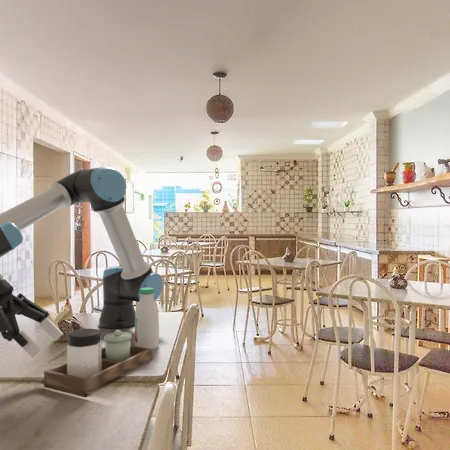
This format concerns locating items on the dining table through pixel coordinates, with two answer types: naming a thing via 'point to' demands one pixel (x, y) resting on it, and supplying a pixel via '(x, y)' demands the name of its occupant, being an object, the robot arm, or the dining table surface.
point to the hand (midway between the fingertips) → (48, 345)
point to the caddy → (110, 370)
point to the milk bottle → (147, 321)
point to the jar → (84, 353)
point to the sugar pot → (117, 346)
